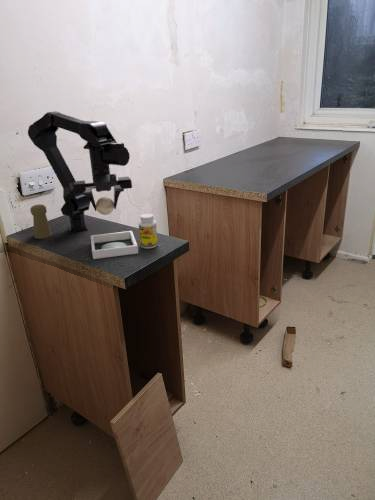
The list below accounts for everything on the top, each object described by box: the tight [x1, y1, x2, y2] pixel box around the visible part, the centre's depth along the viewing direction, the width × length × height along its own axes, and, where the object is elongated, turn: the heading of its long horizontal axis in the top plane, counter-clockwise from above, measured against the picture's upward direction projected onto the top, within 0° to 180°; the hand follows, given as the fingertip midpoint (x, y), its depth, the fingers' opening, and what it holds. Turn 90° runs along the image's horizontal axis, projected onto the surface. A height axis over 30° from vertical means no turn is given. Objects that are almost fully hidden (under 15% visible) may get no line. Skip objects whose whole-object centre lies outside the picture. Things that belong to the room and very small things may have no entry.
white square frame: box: [90, 230, 139, 260], centre depth 127 cm, size 14×14×2 cm
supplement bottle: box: [138, 213, 158, 249], centre depth 126 cm, size 6×6×10 cm
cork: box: [30, 203, 53, 240], centre depth 137 cm, size 6×6×11 cm
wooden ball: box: [95, 196, 115, 216], centre depth 133 cm, size 6×6×6 cm
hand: (105, 209), depth 134 cm, fingers closed on wooden ball, 6 cm apart
